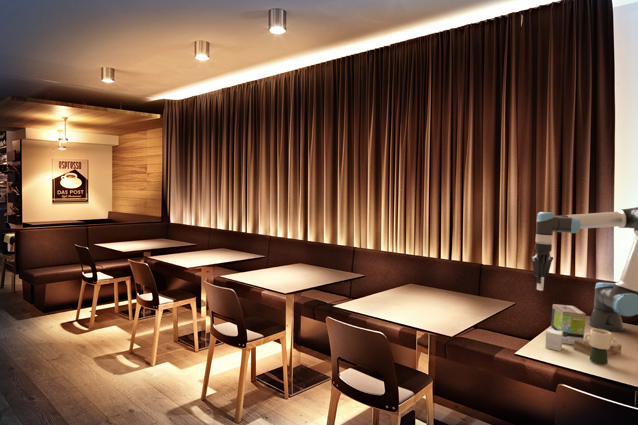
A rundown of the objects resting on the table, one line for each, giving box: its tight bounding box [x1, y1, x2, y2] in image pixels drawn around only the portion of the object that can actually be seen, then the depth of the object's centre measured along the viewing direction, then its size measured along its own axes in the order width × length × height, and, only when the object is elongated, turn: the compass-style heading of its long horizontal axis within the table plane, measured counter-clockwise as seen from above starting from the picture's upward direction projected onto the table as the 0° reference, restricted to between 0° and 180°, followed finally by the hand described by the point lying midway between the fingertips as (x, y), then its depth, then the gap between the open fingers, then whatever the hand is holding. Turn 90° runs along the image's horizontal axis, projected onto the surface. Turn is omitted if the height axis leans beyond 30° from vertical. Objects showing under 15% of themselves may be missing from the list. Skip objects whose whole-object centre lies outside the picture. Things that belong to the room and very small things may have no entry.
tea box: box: [550, 303, 587, 345], centre depth 206 cm, size 15×10×15 cm, turn 168°
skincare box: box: [544, 328, 563, 352], centre depth 193 cm, size 6×6×7 cm
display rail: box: [573, 340, 623, 357], centre depth 191 cm, size 16×10×4 cm, turn 113°
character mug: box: [584, 328, 618, 365], centre depth 177 cm, size 11×7×13 cm, turn 61°
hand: (539, 289), depth 220 cm, fingers closed
